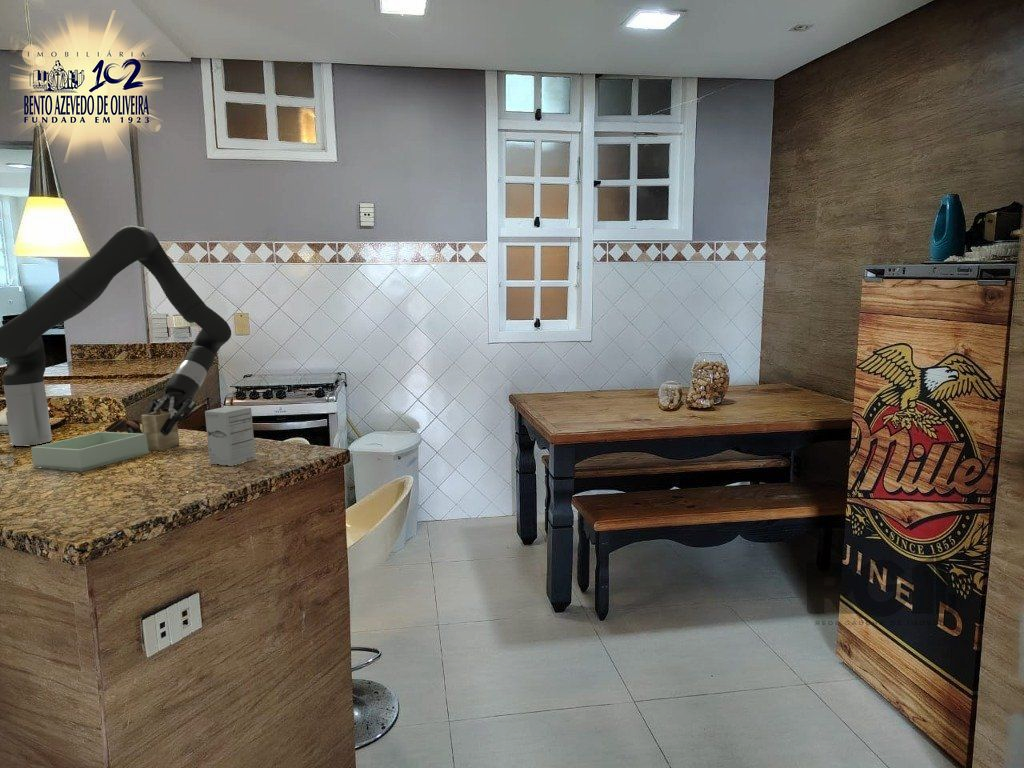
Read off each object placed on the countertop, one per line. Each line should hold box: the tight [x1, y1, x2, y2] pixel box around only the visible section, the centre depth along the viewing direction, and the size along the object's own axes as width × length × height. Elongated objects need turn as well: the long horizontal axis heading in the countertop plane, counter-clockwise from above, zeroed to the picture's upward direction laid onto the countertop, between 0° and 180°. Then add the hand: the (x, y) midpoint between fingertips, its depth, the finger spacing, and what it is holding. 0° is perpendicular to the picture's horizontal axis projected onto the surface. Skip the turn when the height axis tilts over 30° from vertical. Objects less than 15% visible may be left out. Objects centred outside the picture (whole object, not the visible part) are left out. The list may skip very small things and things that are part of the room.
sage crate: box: [30, 431, 149, 472], centre depth 167 cm, size 16×18×5 cm
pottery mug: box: [101, 417, 143, 434], centre depth 186 cm, size 12×10×8 cm
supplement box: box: [204, 405, 256, 467], centre depth 158 cm, size 7×7×13 cm
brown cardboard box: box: [140, 410, 180, 451], centre depth 178 cm, size 6×6×9 cm
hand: (154, 432), depth 177 cm, fingers closed on brown cardboard box, 5 cm apart
